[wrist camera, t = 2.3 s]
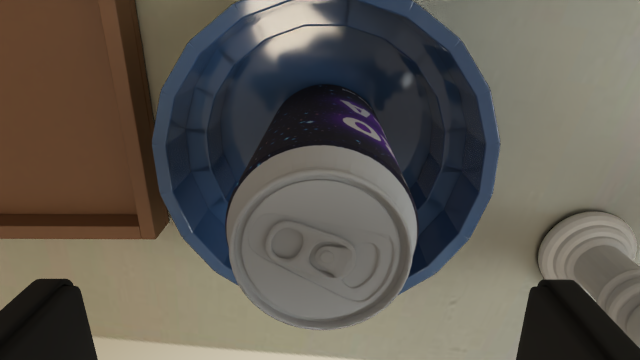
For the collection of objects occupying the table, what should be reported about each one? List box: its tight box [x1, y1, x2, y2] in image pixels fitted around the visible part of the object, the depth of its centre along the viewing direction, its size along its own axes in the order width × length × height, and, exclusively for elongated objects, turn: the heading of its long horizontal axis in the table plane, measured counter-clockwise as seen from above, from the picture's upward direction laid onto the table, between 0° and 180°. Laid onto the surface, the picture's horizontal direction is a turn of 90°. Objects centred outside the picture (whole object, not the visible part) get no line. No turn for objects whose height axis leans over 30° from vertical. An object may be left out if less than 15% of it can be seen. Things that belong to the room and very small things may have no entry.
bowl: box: [152, 0, 500, 295], centre depth 20 cm, size 14×14×6 cm
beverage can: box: [225, 84, 419, 330], centre depth 17 cm, size 6×6×12 cm
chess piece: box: [538, 211, 640, 348], centre depth 21 cm, size 5×5×9 cm
